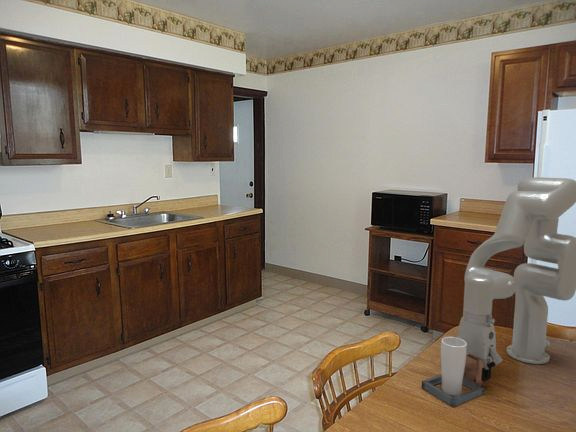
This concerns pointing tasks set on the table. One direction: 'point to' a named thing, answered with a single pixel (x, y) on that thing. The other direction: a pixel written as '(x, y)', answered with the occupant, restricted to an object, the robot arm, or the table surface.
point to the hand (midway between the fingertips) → (473, 373)
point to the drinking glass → (453, 364)
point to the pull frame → (469, 379)
